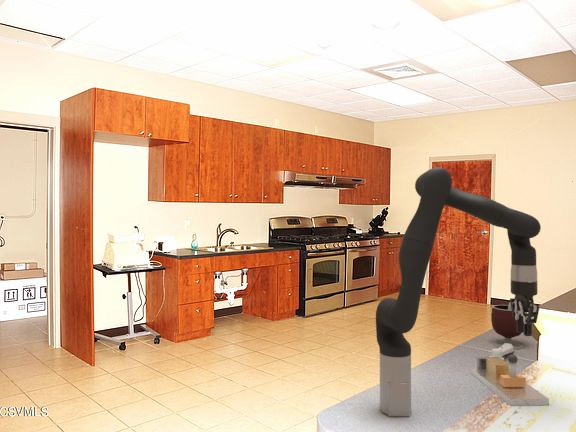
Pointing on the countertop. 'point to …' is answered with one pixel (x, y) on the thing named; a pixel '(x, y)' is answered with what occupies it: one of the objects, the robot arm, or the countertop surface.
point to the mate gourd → (505, 325)
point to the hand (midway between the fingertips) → (524, 333)
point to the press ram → (512, 375)
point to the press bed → (508, 388)
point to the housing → (496, 367)
